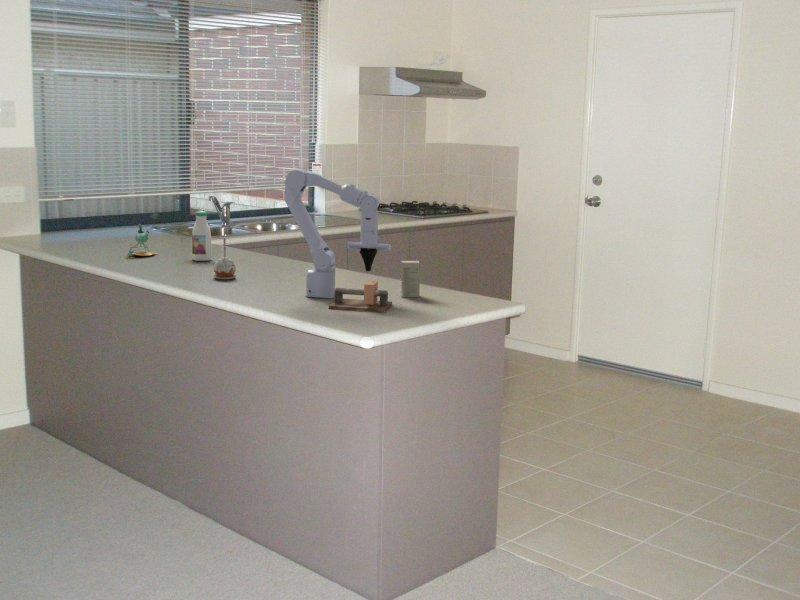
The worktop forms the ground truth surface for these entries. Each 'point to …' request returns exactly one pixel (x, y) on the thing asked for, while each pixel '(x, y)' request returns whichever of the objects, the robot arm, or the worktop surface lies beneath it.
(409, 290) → the skincare box
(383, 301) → the pipe rig
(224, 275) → the decorative ornament
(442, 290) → the worktop surface
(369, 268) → the robot arm
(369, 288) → the collar
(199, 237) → the milk bottle
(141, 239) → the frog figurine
